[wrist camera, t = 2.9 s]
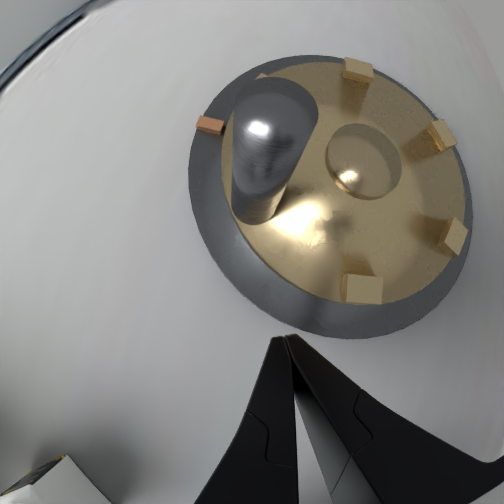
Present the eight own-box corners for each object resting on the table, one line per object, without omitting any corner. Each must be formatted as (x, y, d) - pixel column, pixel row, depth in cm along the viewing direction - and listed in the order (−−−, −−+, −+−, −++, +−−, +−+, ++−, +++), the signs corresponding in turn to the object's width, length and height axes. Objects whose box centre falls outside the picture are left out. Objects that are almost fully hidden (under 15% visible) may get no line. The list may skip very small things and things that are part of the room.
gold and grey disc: (494, 257, 25) (507, 254, 23) (271, 394, 22) (275, 402, 20) (379, 52, 28) (386, 41, 26) (151, 107, 25) (146, 94, 23)
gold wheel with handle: (381, 60, 26) (431, -23, 14) (484, 241, 24) (584, 207, 11) (183, 107, 24) (161, -15, 11) (293, 355, 21) (368, 409, 9)
